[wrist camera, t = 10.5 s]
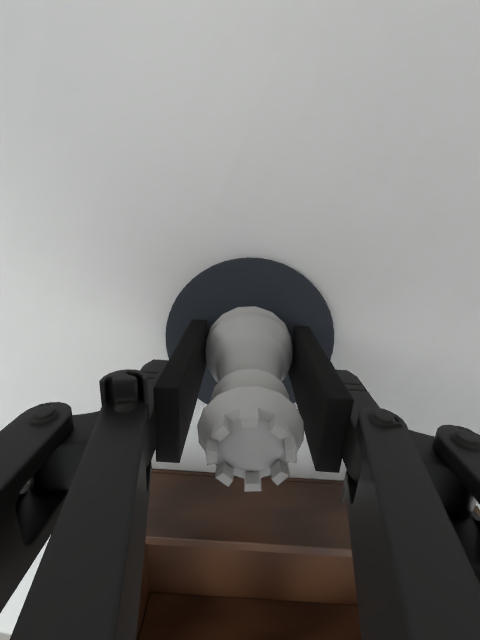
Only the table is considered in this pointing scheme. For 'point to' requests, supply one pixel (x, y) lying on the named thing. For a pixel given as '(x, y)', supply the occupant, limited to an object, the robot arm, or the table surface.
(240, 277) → the coaster
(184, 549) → the tray
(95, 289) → the table surface
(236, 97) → the table surface
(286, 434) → the rook chess piece
